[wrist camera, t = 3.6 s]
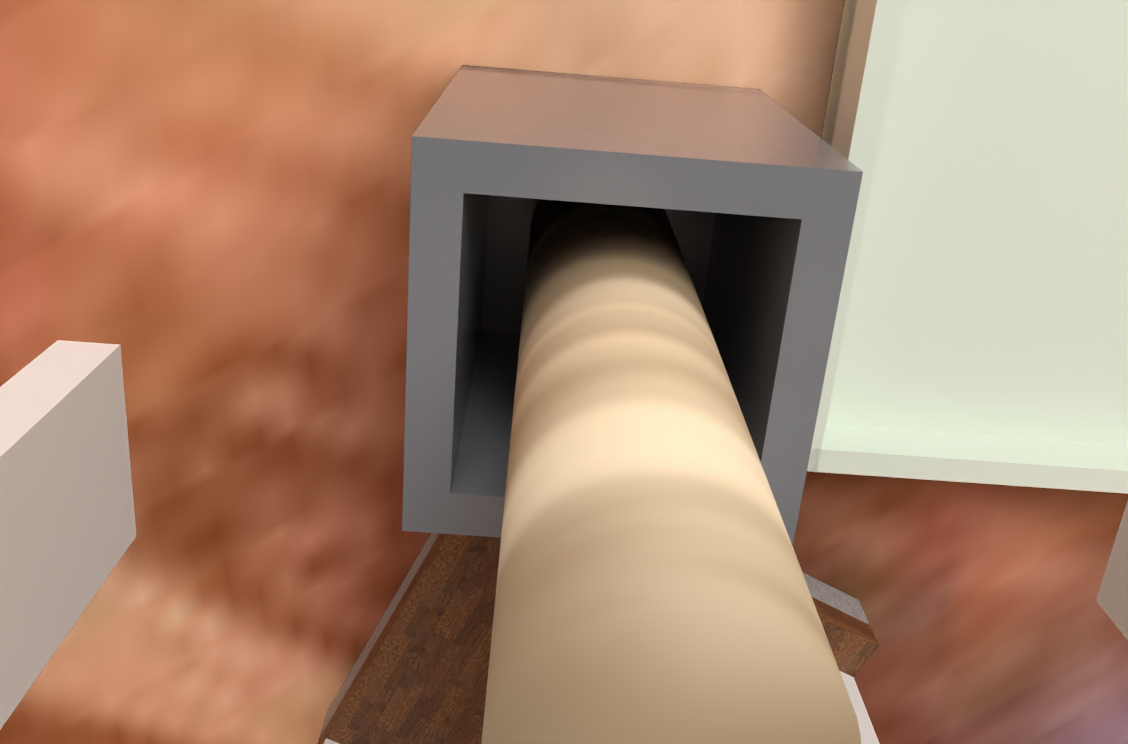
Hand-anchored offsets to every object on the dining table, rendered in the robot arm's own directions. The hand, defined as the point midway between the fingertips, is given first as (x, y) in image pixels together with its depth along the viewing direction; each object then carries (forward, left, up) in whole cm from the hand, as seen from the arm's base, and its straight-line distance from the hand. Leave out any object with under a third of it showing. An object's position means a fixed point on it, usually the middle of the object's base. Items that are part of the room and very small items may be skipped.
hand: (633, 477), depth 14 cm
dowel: (0, 0, -12) cm, 12 cm away
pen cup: (0, 0, -13) cm, 13 cm away
